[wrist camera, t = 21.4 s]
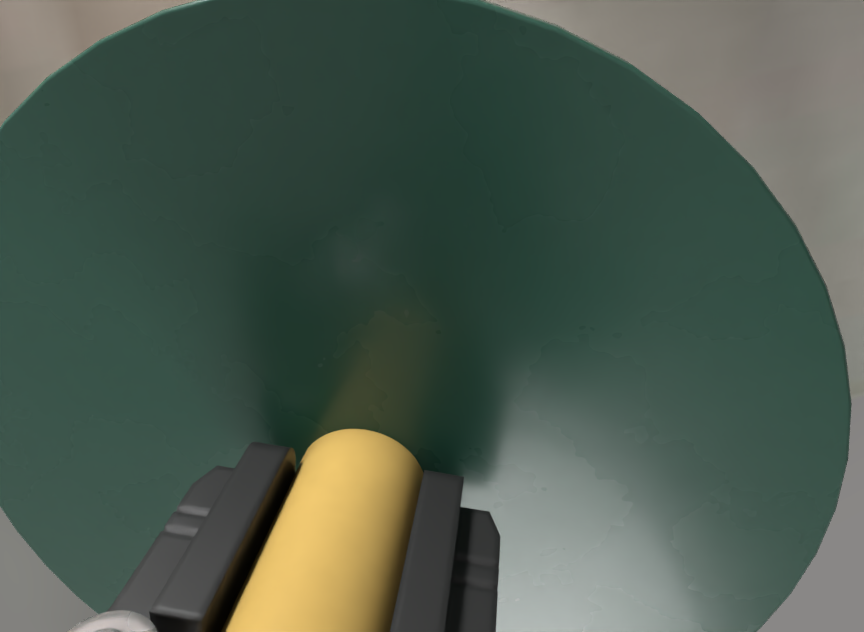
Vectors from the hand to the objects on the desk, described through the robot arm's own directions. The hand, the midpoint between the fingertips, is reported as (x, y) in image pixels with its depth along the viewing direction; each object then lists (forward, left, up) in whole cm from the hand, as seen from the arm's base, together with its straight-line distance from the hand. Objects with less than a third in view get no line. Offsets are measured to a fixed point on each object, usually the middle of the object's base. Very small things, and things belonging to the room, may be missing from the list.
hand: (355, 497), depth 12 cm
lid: (0, 0, -1) cm, 1 cm away
